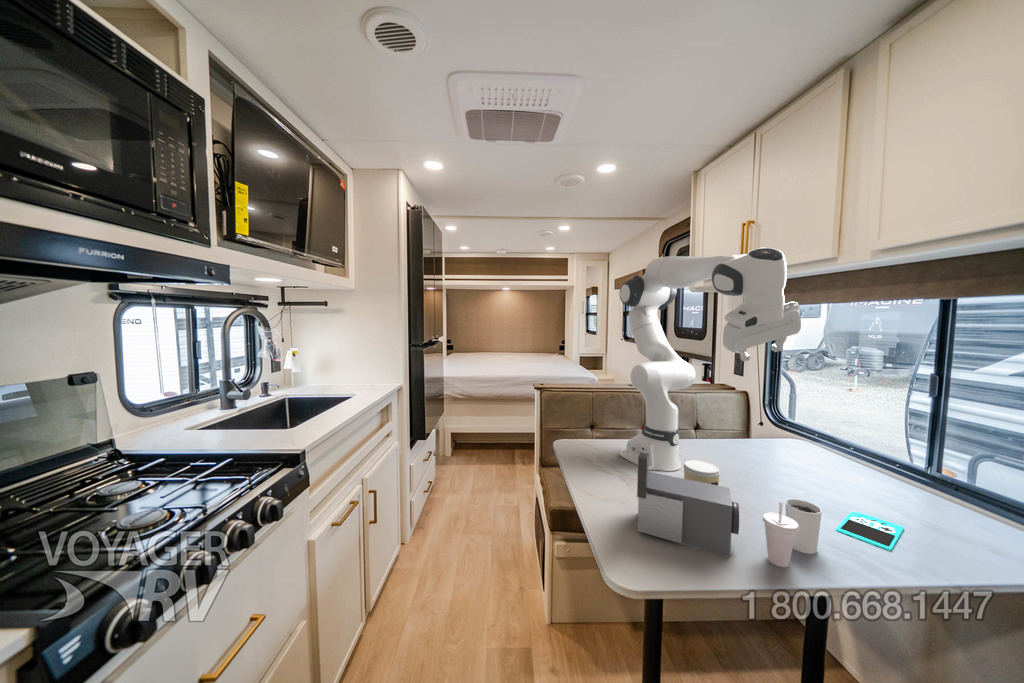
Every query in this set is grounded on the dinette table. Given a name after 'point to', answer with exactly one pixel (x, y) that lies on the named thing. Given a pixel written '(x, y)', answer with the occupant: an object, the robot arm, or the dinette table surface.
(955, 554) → the dinette table surface
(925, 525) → the dinette table surface
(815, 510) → the white cylindrical cup
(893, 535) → the handheld game console
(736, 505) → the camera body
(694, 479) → the coffee cup
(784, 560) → the smoothie
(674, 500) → the side door
